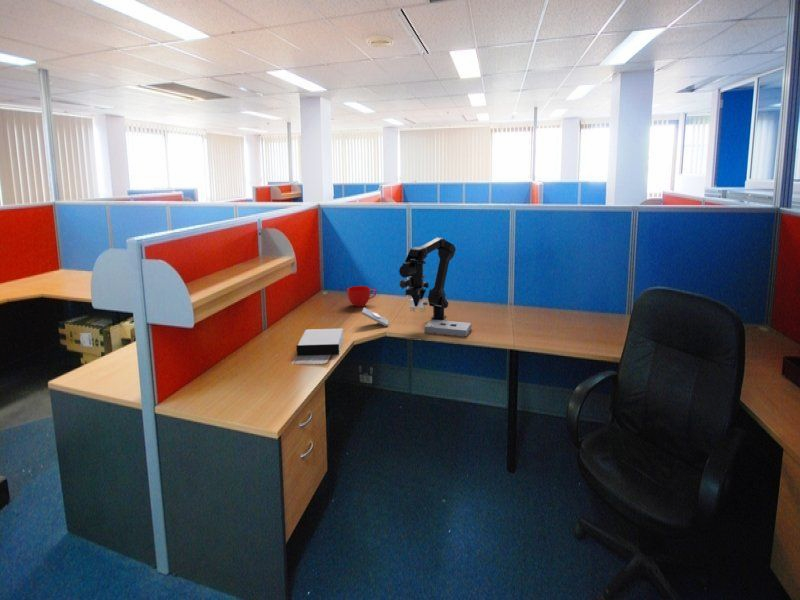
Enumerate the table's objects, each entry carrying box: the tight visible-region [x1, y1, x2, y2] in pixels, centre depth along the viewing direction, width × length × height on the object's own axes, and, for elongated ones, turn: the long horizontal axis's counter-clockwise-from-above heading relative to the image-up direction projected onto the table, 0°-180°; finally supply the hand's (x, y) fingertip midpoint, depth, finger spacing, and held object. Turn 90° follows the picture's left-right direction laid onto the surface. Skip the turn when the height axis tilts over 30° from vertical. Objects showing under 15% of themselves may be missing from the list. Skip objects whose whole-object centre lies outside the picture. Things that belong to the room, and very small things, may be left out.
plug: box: [409, 297, 429, 314], centre depth 234 cm, size 4×8×6 cm, turn 70°
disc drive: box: [296, 328, 344, 357], centre depth 212 cm, size 18×22×5 cm
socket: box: [424, 319, 472, 337], centre depth 229 cm, size 12×20×3 cm, turn 70°
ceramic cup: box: [346, 285, 378, 308], centre depth 276 cm, size 13×17×10 cm
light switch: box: [361, 307, 390, 327], centre depth 241 cm, size 8×6×14 cm
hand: (417, 305), depth 234 cm, fingers closed on plug, 4 cm apart
